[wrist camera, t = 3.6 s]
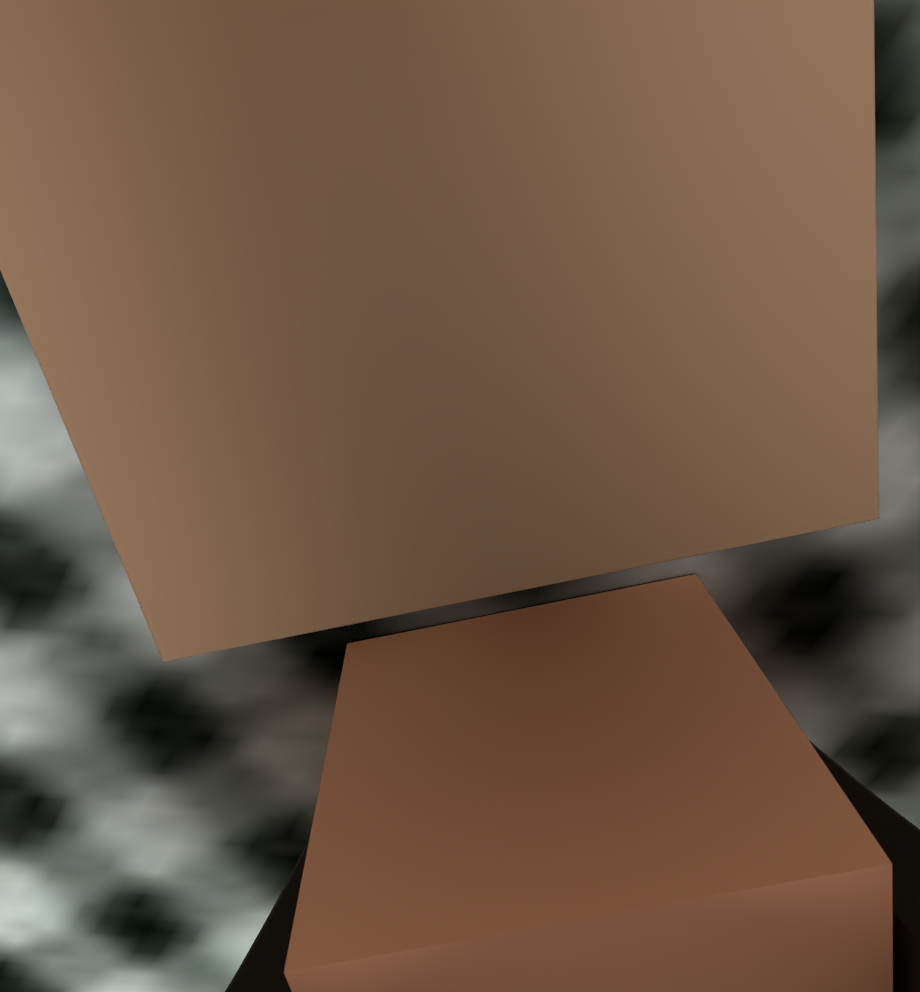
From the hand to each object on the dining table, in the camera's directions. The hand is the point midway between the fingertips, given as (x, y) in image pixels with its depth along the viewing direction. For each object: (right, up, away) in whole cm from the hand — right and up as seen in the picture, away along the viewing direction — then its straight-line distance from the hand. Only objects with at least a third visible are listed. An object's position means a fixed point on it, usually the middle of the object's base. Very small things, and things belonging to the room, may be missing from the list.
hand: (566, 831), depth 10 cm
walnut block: (-2, +8, -1) cm, 8 cm away
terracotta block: (0, +1, +2) cm, 2 cm away
